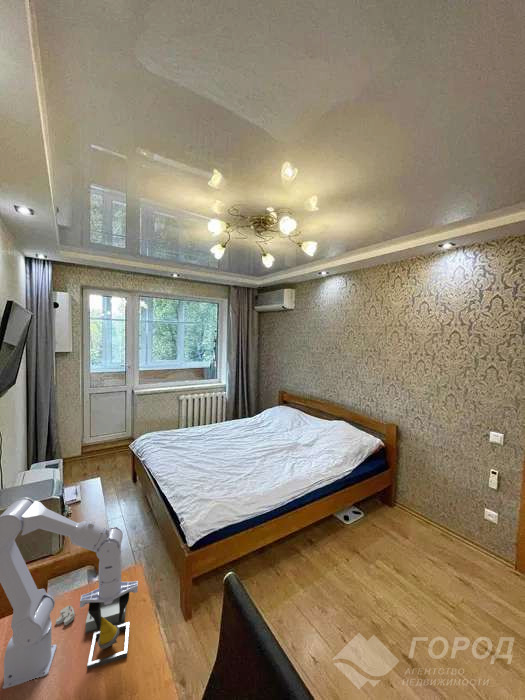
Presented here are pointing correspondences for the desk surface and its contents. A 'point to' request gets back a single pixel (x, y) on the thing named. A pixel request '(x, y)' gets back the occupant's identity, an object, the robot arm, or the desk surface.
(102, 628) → the drill bit
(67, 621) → the game controller
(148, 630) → the desk surface
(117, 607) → the bin
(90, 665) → the grey square frame
